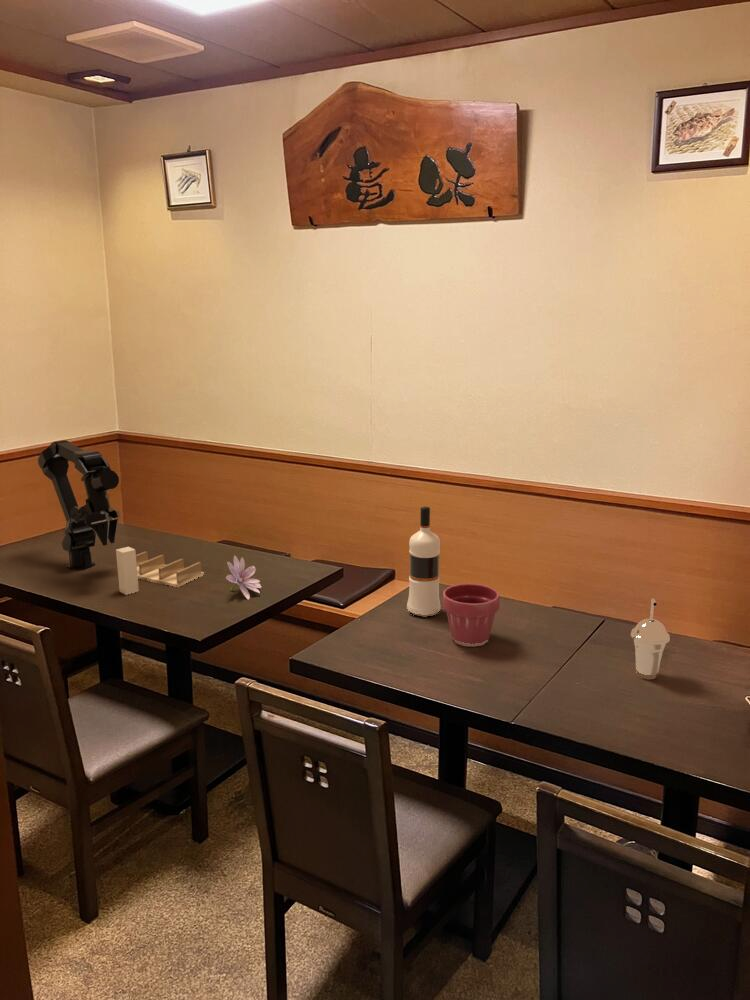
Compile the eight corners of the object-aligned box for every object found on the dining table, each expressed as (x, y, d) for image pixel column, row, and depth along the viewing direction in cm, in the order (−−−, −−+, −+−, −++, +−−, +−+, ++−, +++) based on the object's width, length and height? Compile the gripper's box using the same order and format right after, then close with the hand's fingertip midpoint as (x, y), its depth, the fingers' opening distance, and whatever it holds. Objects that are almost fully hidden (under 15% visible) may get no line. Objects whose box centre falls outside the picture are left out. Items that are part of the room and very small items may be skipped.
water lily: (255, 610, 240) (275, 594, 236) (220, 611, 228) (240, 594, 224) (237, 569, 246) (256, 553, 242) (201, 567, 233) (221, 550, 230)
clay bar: (119, 591, 236) (115, 549, 233) (132, 588, 239) (128, 546, 236) (126, 595, 234) (122, 552, 230) (138, 591, 236) (135, 549, 233)
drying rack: (120, 575, 250) (119, 561, 249) (148, 563, 260) (147, 550, 259) (177, 587, 239) (176, 573, 238) (203, 575, 249) (203, 561, 248)
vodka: (412, 620, 216) (413, 512, 208) (402, 607, 224) (403, 503, 217) (445, 616, 218) (447, 510, 210) (434, 604, 227) (436, 501, 219)
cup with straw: (672, 674, 185) (680, 593, 180) (655, 689, 179) (663, 605, 173) (636, 663, 191) (643, 584, 185) (619, 677, 184) (626, 595, 179)
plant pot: (432, 633, 208) (433, 586, 204) (481, 625, 212) (482, 579, 209) (457, 656, 195) (458, 607, 191) (508, 647, 199) (510, 599, 196)
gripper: (78, 498, 249) (90, 547, 249) (60, 500, 230) (73, 553, 231) (114, 490, 250) (125, 539, 250) (99, 491, 231) (111, 544, 232)
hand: (108, 544), depth 241 cm, fingers open, 9 cm apart
